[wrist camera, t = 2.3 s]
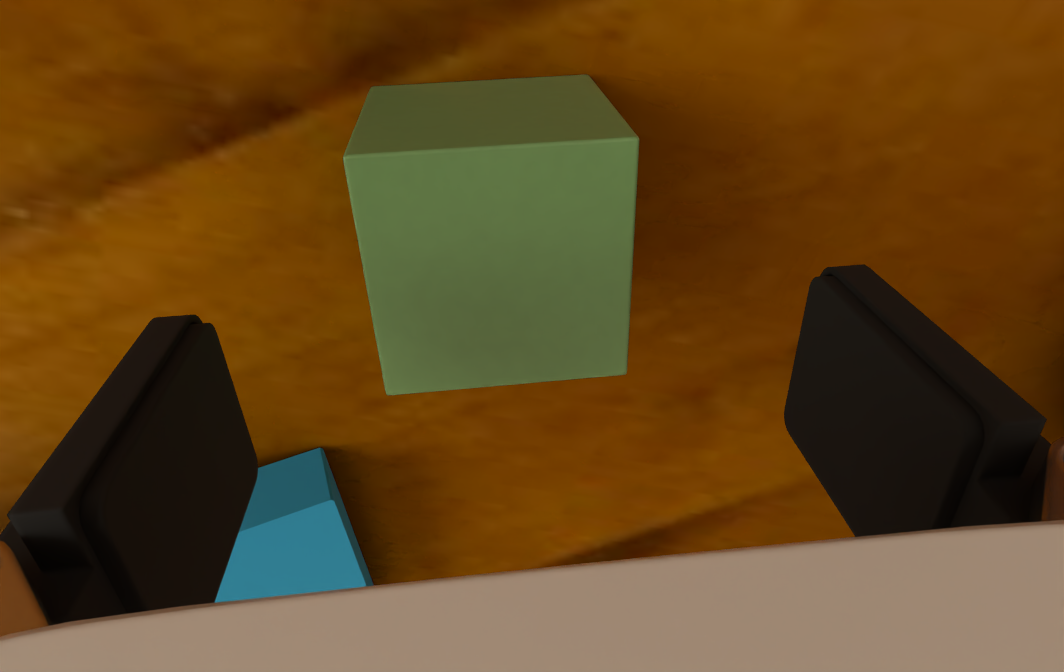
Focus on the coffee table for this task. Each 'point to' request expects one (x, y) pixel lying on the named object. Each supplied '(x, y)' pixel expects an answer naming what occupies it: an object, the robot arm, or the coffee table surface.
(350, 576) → the lever
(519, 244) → the green toy block
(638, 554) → the coffee table surface
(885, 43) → the coffee table surface
